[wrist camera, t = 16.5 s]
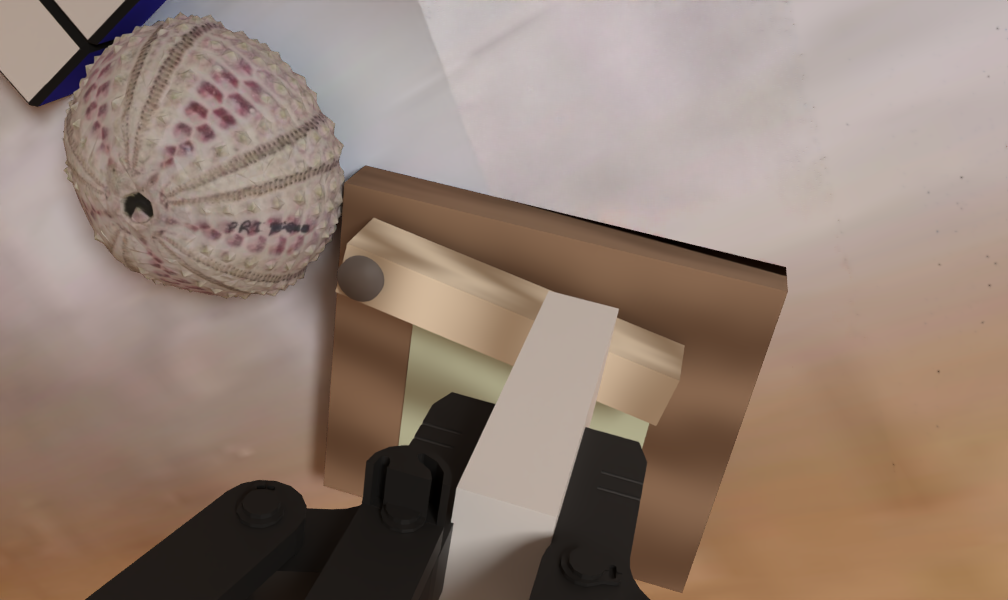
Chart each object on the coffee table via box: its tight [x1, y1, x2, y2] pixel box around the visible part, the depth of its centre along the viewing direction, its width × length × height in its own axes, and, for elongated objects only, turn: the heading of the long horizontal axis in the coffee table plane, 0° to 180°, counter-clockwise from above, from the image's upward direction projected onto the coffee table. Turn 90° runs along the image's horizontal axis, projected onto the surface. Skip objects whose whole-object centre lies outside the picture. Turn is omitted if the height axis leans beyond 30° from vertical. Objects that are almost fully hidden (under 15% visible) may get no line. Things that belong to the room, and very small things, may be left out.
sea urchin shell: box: [63, 12, 344, 299], centre depth 40 cm, size 13×14×8 cm
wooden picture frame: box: [324, 166, 788, 593], centre depth 44 cm, size 18×20×3 cm
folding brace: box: [335, 218, 685, 426], centre depth 39 cm, size 15×2×3 cm, turn 72°
